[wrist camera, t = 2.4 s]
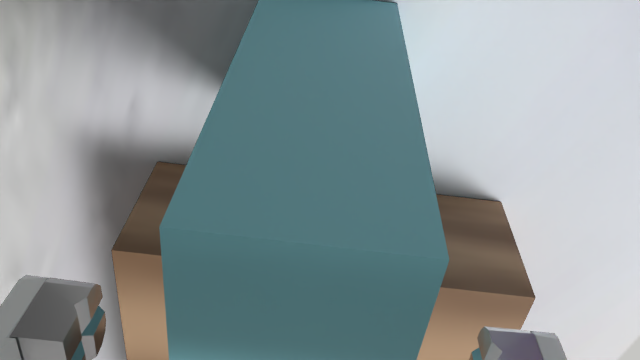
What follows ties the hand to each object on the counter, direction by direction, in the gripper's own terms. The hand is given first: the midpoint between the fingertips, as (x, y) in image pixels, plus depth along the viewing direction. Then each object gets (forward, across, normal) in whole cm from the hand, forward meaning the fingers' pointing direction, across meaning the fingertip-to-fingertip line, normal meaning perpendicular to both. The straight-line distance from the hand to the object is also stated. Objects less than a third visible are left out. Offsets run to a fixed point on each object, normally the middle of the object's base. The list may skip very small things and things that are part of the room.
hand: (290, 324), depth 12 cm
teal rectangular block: (+13, 0, -1) cm, 13 cm away
